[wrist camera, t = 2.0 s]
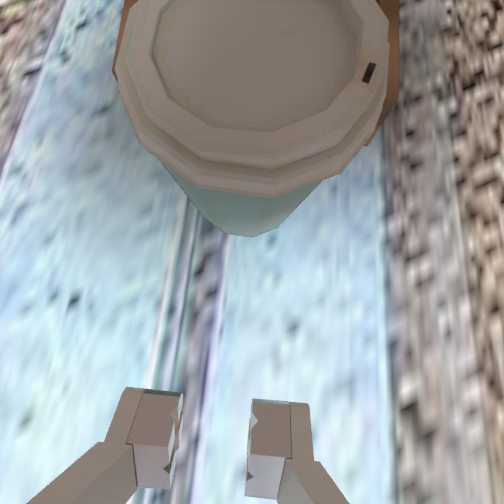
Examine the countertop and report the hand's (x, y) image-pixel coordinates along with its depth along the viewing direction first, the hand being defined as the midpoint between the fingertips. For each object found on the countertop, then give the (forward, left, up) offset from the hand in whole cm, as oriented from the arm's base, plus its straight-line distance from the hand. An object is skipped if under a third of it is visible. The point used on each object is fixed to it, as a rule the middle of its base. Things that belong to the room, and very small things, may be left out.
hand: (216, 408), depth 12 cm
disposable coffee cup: (-5, -11, -16) cm, 20 cm away
